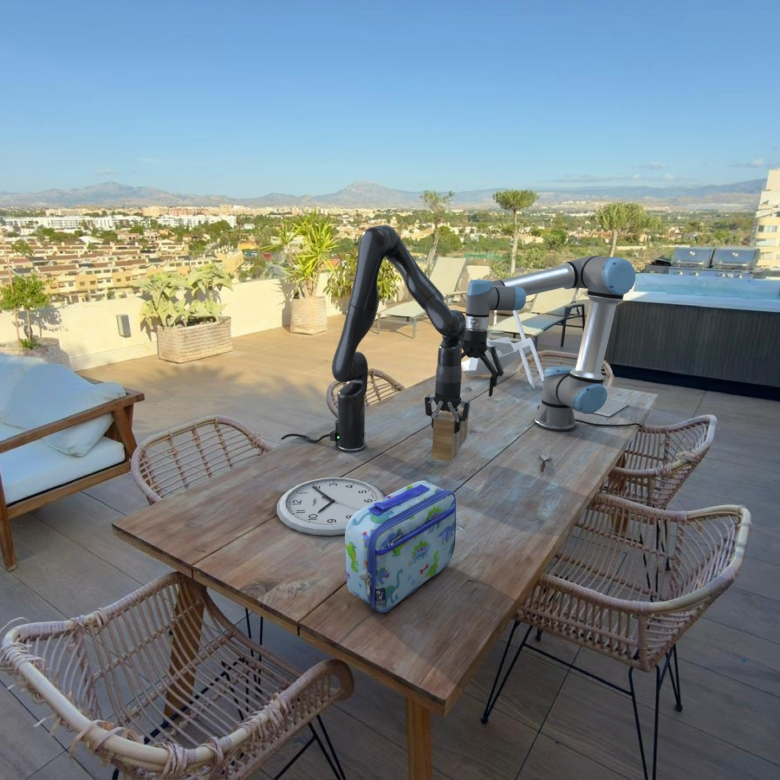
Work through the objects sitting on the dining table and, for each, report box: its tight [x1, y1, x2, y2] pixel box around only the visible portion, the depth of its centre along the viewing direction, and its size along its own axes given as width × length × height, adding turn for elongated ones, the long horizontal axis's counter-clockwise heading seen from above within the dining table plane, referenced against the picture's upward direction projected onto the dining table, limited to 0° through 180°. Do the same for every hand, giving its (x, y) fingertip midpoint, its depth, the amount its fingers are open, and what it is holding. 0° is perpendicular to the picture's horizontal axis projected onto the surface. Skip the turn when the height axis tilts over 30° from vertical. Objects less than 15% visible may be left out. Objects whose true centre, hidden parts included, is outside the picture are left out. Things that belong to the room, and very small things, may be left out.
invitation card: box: [593, 399, 629, 418], centre depth 226 cm, size 21×1×15 cm
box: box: [431, 404, 470, 462], centre depth 167 cm, size 20×6×13 cm, turn 158°
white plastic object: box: [461, 310, 545, 390], centre depth 260 cm, size 37×45×31 cm
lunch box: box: [344, 480, 457, 614], centre depth 109 cm, size 26×11×21 cm, turn 135°
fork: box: [540, 448, 551, 473], centre depth 170 cm, size 3×16×2 cm, turn 160°
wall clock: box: [276, 476, 386, 537], centre depth 142 cm, size 30×2×30 cm
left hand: (445, 430), depth 160 cm, fingers closed on box, 6 cm apart
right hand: (470, 392), depth 173 cm, fingers open, 13 cm apart
